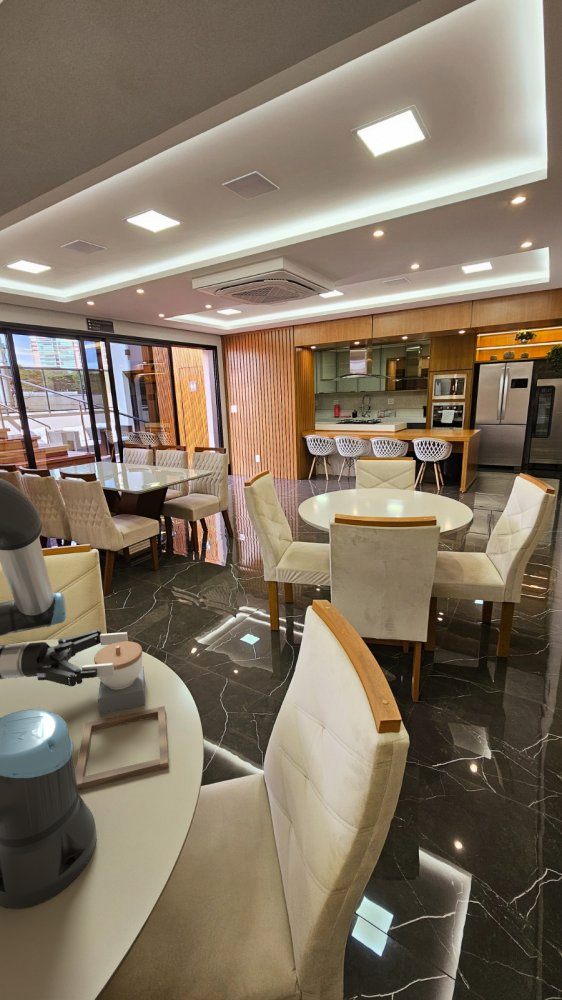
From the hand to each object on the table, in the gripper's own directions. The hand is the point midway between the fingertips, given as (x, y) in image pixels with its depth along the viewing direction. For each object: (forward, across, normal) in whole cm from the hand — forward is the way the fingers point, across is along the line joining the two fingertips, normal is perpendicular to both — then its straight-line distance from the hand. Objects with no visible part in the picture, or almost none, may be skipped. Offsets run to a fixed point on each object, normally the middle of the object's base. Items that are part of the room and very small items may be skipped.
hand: (120, 652), depth 104 cm
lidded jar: (0, 0, -8) cm, 8 cm away
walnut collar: (+4, +17, -12) cm, 21 cm away
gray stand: (0, 0, -12) cm, 12 cm away
